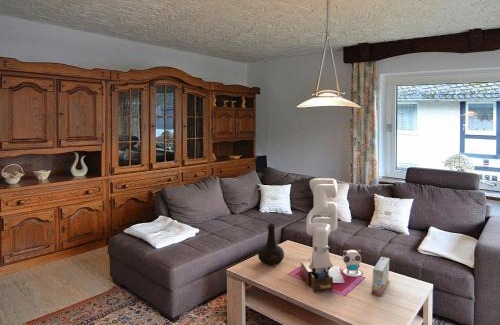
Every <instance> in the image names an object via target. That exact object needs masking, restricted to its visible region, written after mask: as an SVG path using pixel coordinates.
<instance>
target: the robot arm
mask: <svg viewBox="0 0 500 325" xmlns="http://www.w3.org/2000/svg"><path fill="white" fill-rule="evenodd" d="M309 188H310V190H311V192H312V195H313V207H312V208H311V209H310V210H309V212H308V214H307V215H306V219H305V220H306V221H305V231H306V234H307V235H308V236H311V237H312V252H311V257H310V259H309V261H311V264H310V266H309V268H310V269H311V270H313V271H314V276H315V278H318V273H317V271H318V268H324V271H325V272H326V277H327V272H328V270H329V271H330V270H331V269H332V268H333V267H334V265H333V264H332V263H331V257H330V251H329V249H330V248H331V246H330V245H328V244H329V242H328V241H329V235H330V234H331V232H336V231H337V230H338V214H339V213H338V204H337V203H336V202H335V201H328V199H329V198H330V199H331V198H337V196H338V184H337V180H336V179H335V178H320V177H319V178H318V177H317V178H312V179H310V180H309ZM312 267H314V268H312Z"/></svg>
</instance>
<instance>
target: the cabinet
mask: <svg viewBox="0 0 500 325" xmlns="http://www.w3.org/2000/svg"><path fill="white" fill-rule="evenodd" d="M310 264H311V261H310V260H305V261H301V262H300V266H301V267H300V270H301V271H300V273H301V274H300V276H301V278H302V279H303V281H304V283H305V284H306V286H307V287H308V288H312V287H311V285H310V273H314V271H313V270H311V269H310V268H309V266H310ZM312 268H314V267H312ZM322 269H323V270H324V268H318V270H322ZM329 271H330V269H329V270H328V272H327V273H328V275H330V274H329Z"/></svg>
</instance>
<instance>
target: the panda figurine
mask: <svg viewBox="0 0 500 325" xmlns="http://www.w3.org/2000/svg"><path fill="white" fill-rule="evenodd" d="M341 254H342V261H343V263H344V264H345V266H346V268H344V269H343V270H342V273H343V274H344V275H345V276H347V277H352V278H356V277H357V278H358V277H360V276H361V275H362V272H361V270H359V268H361V267H360V264H361V262H362V254H363V253H362V251H361V249H348V250H345V249H343V250H341Z"/></svg>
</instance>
